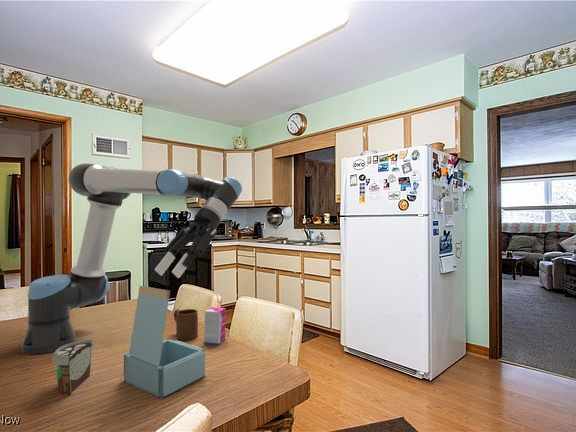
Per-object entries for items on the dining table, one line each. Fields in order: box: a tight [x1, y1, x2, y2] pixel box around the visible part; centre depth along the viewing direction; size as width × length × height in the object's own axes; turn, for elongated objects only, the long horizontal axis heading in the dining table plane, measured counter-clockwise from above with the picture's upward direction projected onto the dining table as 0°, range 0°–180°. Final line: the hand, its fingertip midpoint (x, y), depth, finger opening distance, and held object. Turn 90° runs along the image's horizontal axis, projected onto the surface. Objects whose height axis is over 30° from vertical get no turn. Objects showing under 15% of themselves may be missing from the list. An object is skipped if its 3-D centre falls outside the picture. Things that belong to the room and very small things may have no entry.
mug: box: [173, 308, 199, 341], centre depth 124 cm, size 12×8×9 cm, turn 51°
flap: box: [128, 285, 171, 365], centre depth 87 cm, size 1×12×18 cm, turn 57°
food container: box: [52, 339, 94, 396], centre depth 87 cm, size 12×6×10 cm, turn 5°
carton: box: [123, 338, 206, 399], centre depth 91 cm, size 15×17×7 cm
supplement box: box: [203, 306, 227, 346], centre depth 118 cm, size 6×6×12 cm
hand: (166, 273), depth 92 cm, fingers open, 7 cm apart
